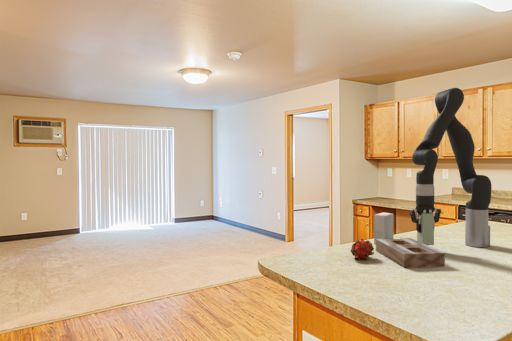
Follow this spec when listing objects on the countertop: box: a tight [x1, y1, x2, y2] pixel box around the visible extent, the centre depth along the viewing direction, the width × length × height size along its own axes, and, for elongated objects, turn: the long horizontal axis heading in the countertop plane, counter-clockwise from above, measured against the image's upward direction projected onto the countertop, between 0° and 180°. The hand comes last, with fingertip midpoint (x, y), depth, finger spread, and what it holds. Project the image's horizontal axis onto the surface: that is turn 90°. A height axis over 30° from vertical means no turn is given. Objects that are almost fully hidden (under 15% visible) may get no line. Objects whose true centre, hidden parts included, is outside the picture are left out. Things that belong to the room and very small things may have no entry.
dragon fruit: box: [350, 238, 375, 260], centre depth 150 cm, size 8×8×12 cm
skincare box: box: [373, 211, 395, 245], centre depth 176 cm, size 8×6×15 cm
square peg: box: [416, 212, 435, 246], centre depth 164 cm, size 5×5×14 cm
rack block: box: [375, 237, 446, 269], centre depth 151 cm, size 16×26×5 cm, turn 5°
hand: (425, 231), depth 164 cm, fingers closed on square peg, 5 cm apart
